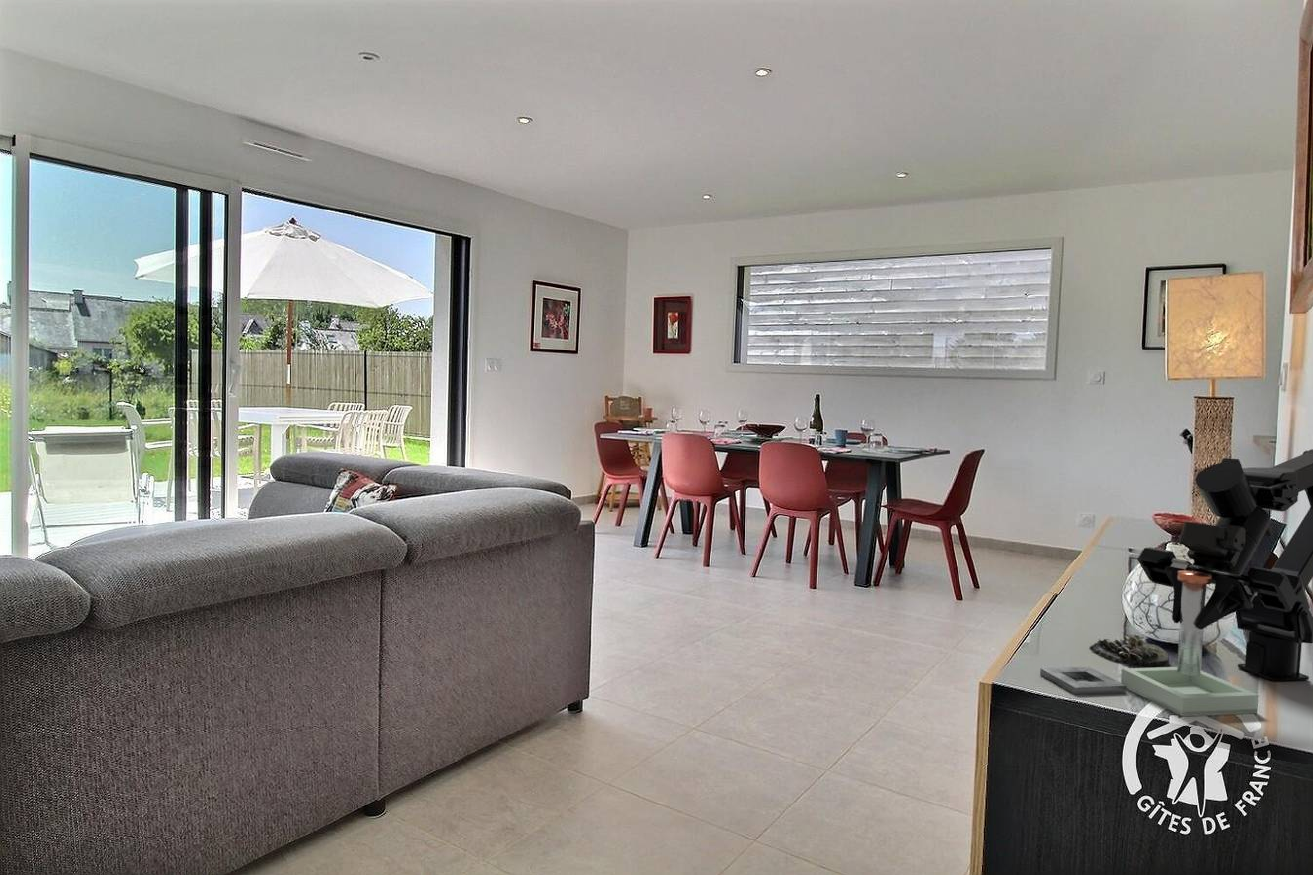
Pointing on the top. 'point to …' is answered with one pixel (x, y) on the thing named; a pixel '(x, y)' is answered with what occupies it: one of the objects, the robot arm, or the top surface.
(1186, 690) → the tray
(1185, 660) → the pin
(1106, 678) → the collar plate
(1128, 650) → the dark brown textured lump
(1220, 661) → the top surface
